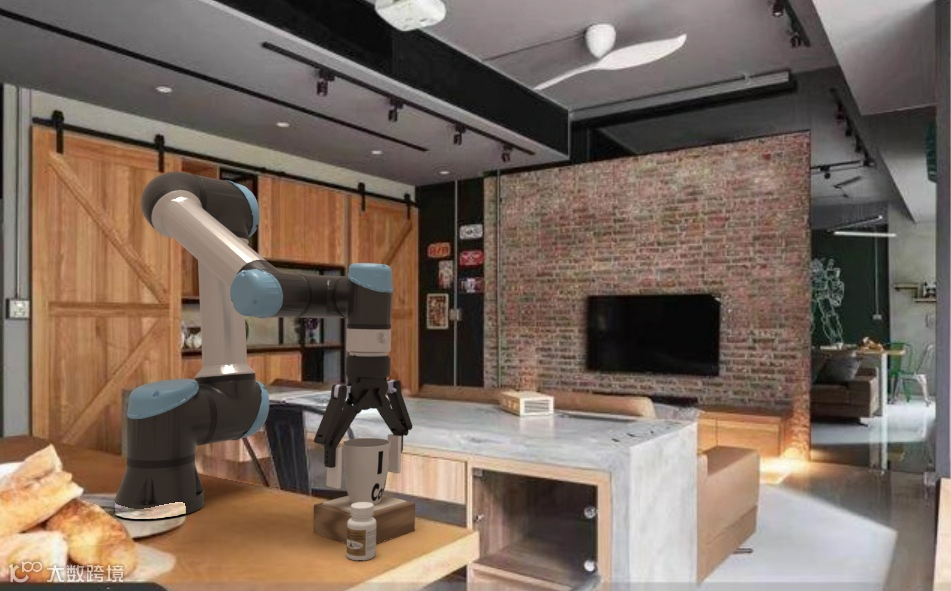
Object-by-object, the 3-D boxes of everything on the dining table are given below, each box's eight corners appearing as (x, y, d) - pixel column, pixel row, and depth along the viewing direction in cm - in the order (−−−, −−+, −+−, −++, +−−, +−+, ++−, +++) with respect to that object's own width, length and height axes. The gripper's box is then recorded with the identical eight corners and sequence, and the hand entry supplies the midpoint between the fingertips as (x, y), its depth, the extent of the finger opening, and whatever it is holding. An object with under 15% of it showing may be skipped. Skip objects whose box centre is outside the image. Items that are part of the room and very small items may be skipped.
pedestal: (313, 532, 111) (314, 502, 111) (366, 516, 120) (367, 488, 120) (361, 549, 103) (362, 517, 103) (414, 530, 113) (415, 500, 113)
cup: (379, 510, 107) (381, 448, 107) (333, 506, 109) (334, 445, 109) (395, 497, 115) (396, 439, 115) (351, 493, 117) (353, 436, 117)
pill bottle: (340, 557, 100) (341, 505, 100) (359, 548, 103) (360, 499, 104) (362, 563, 97) (363, 510, 98) (381, 554, 101) (382, 503, 101)
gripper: (324, 358, 100) (320, 498, 100) (433, 352, 120) (430, 470, 119) (294, 355, 105) (290, 489, 104) (403, 350, 125) (400, 463, 124)
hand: (365, 479), depth 112 cm, fingers open, 13 cm apart
